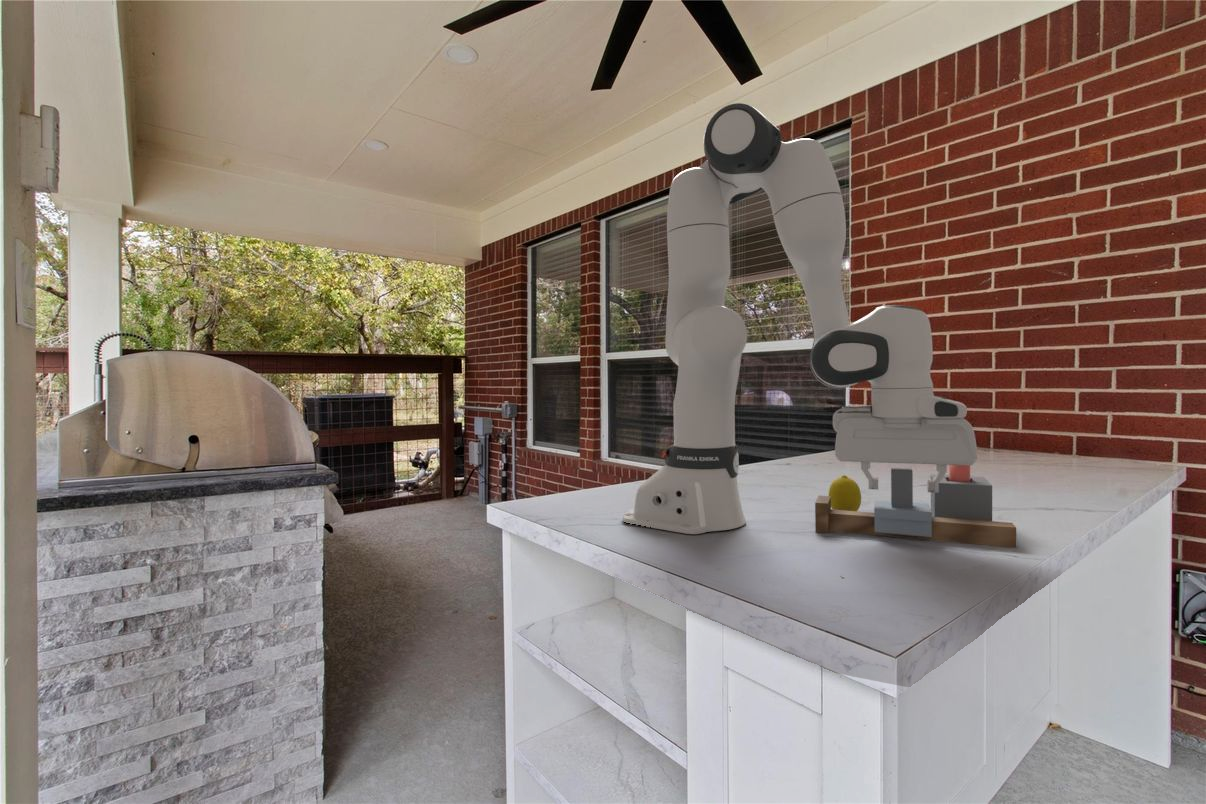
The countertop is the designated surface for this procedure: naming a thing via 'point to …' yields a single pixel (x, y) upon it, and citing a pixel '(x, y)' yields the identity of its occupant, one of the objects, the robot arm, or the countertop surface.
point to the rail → (941, 531)
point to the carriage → (902, 508)
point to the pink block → (959, 473)
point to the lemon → (845, 494)
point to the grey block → (963, 499)
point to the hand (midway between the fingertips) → (902, 490)
